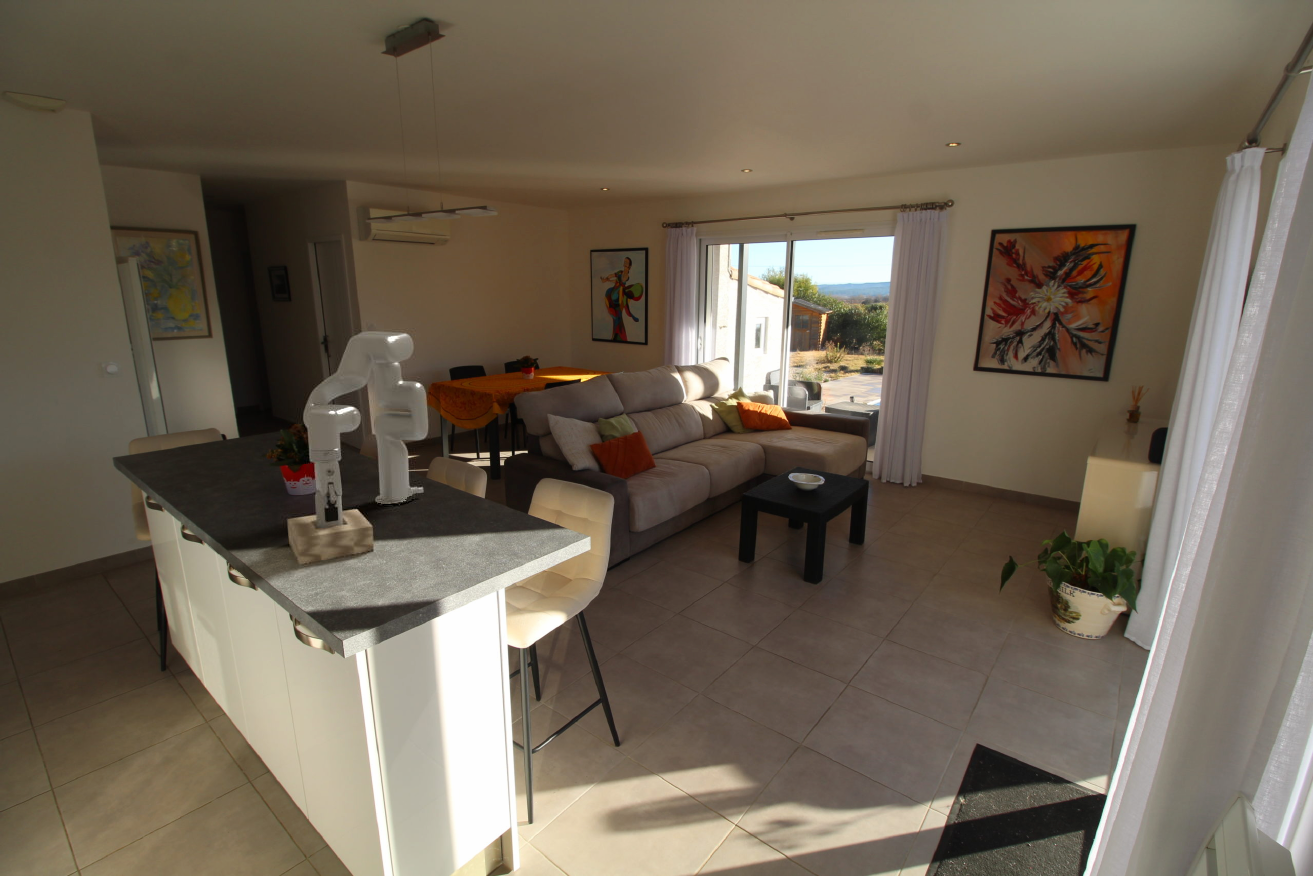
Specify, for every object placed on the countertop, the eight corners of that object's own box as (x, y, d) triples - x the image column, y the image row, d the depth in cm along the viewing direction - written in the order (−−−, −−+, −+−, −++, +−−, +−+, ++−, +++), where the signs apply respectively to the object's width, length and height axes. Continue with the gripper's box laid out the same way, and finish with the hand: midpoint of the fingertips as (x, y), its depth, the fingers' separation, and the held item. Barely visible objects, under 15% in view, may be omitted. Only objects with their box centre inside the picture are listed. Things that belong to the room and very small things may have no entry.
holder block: (358, 531, 183) (356, 509, 181) (373, 550, 169) (372, 526, 168) (289, 543, 172) (287, 519, 170) (299, 564, 158) (297, 538, 157)
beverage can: (325, 536, 165) (322, 494, 163) (312, 531, 168) (309, 490, 166) (348, 530, 170) (345, 489, 168) (335, 525, 174) (332, 485, 171)
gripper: (347, 459, 161) (351, 524, 165) (333, 447, 174) (337, 507, 178) (315, 462, 157) (320, 529, 160) (304, 449, 170) (308, 511, 173)
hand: (329, 517), depth 169 cm, fingers closed on beverage can, 5 cm apart
